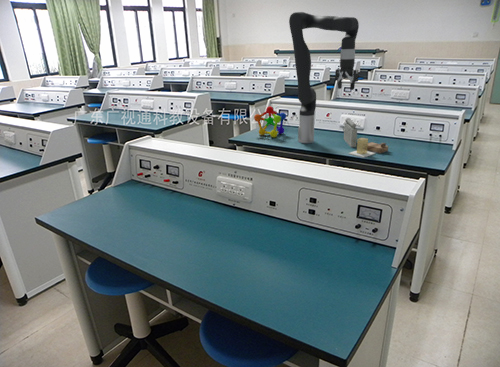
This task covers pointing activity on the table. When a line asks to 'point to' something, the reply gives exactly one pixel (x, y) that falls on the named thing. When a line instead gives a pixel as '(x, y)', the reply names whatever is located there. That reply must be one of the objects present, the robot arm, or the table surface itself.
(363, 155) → the mat
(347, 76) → the robot arm
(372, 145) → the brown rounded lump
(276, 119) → the molecular model
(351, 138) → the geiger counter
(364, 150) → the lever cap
